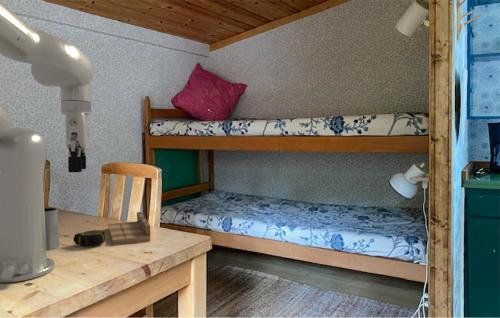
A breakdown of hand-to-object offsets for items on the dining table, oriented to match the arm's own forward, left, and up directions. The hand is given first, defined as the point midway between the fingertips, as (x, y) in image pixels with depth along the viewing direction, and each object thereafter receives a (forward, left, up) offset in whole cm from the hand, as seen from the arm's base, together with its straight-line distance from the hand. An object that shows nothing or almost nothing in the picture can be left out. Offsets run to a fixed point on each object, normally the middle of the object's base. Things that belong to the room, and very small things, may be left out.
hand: (77, 170), depth 103 cm
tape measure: (-4, -2, -20) cm, 21 cm away
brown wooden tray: (+2, -13, -20) cm, 24 cm away
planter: (-3, +7, -20) cm, 22 cm away
